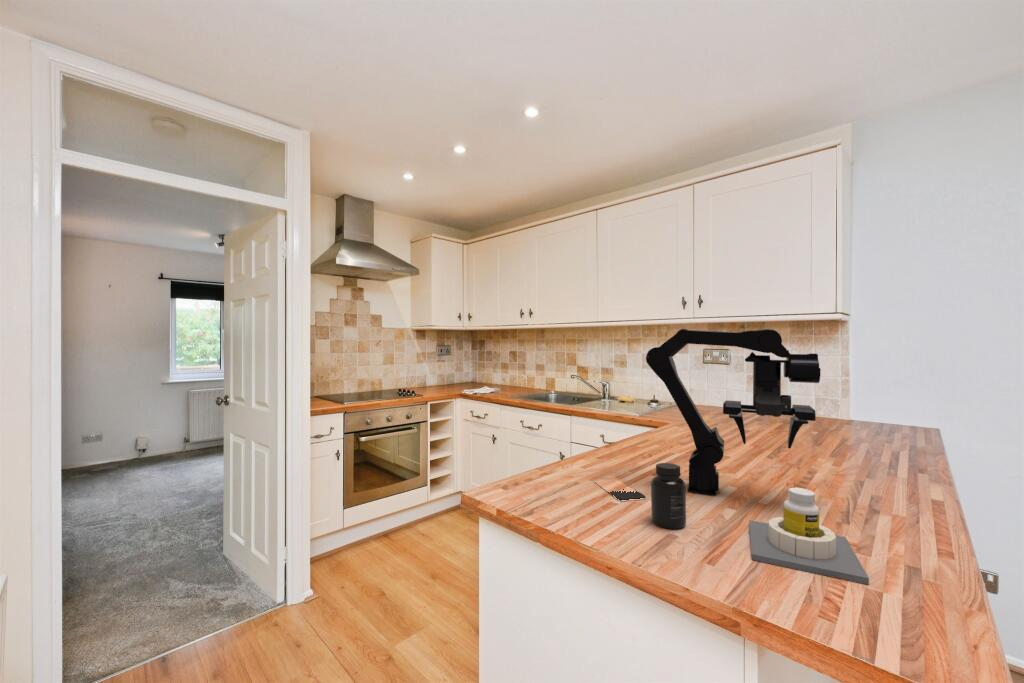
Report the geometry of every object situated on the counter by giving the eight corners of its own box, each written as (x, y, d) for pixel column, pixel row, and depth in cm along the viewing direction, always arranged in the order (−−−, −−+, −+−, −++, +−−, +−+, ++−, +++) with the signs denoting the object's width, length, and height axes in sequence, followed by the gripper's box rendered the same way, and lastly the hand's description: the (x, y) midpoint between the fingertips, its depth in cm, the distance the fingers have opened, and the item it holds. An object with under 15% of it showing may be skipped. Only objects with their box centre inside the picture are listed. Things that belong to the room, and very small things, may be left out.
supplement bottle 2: (808, 554, 74) (808, 498, 74) (776, 541, 79) (777, 488, 79) (825, 548, 76) (825, 493, 76) (794, 535, 81) (794, 484, 81)
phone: (617, 478, 117) (647, 497, 102) (617, 481, 117) (647, 500, 102) (592, 480, 115) (619, 499, 101) (592, 483, 115) (619, 503, 101)
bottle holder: (751, 559, 74) (752, 536, 74) (749, 524, 88) (749, 505, 88) (868, 584, 67) (869, 559, 67) (845, 542, 81) (845, 521, 81)
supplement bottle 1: (684, 518, 91) (685, 463, 91) (686, 532, 85) (687, 472, 85) (651, 514, 94) (651, 459, 93) (650, 527, 87) (651, 468, 87)
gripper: (722, 382, 100) (722, 448, 100) (820, 386, 91) (819, 459, 91) (723, 378, 109) (723, 439, 109) (811, 381, 101) (811, 447, 101)
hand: (766, 445), depth 102 cm, fingers open, 9 cm apart
